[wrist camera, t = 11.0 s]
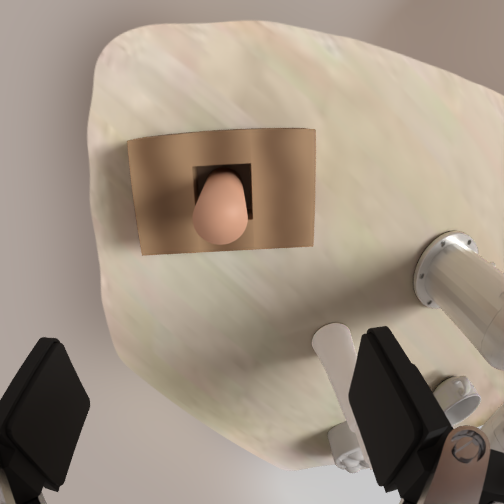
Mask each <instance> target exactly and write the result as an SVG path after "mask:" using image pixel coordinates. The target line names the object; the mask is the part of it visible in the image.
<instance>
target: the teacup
mask: <svg viewBox="0 0 504 504" xmlns="http://www.w3.org/2000/svg"><path fill="white" fill-rule="evenodd" d="M433 394H434V396H435V398H436V399H437V401H438V403H439V405H440V406H441V408H442V410H443V411H444V413H445V415H446V417H447V418H448V420H449V422H450V424H451V425H452V426H454V425H456V424H458V423H460V422H461V421H463V420H464V419H466V418H467V417H468V416H470V415H471V414H472V413H473V412H474V411H475V410H476V408H477V407H478V406H479V404H480V402H481V396H480V395H479V394H478V392H477V391H476V389H475V388H474V386H473V385H472V383H471V382H470V381H469V380H468V378H467V377H466V376H460V377H452V378H449V379H447V380H445V381H443V382H442V383H441V384H440V385H439V386H438V387H437V388H436V389H435V391H434V392H433Z"/></svg>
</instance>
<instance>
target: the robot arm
mask: <svg viewBox="0 0 504 504" xmlns="http://www.w3.org/2000/svg"><path fill="white" fill-rule="evenodd" d="M413 283H414V291H415V294H416V296H417V297H418V299H419V300H420V301H421V302H422V304H424V305H425V306H426V307H429V308H434V309H438V308H441V309H442V310H443V311H444V312H445V313H446V315H447V316H448V317H449V318H450V319H451V320H452V321H453V322H454V323H455V325H456V326H457V327H458V328H459V329H460V330H461V331H462V332H463V334H464V335H465V336H466V337H467V338H468V339H469V341H470V342H471V343H472V344H473V345H474V346H475V348H476V349H477V350H478V351H479V352H480V354H481V355H482V356H483V357H484V358H485V359H486V361H487V362H488V363H489V364H490V365H491V366H493V367H494V368H496V369H498V370H502V371H504V273H503V272H502V271H500V270H499V269H498V268H496V267H495V263H494V262H488V261H487V260H485V259H484V258H483V257H481V256H480V255H479V252H478V248H477V245H476V243H475V241H474V240H473V239H472V238H471V237H470V236H469V235H467V234H465V233H464V232H460V231H451V232H447V233H445V234H443V235H441V236H439V237H438V238H436V239H435V240H434V241H433V242H432V243H431V244H430V245H429V246H428V247H427V248H426V250H425V251H424V252H423V254H422V256H421V258H420V259H419V261H418V264H417V266H416V269H415V274H414V282H413ZM348 398H349V403H350V406H351V409H352V412H353V414H354V417H355V420H356V423H357V425H358V428H359V431H360V434H361V437H362V440H363V442H364V445H365V448H366V451H367V454H368V457H369V460H370V463H371V466H372V469H373V472H374V475H375V477H376V481H377V483H378V485H379V486H384V488H385V491H386V493H387V492H390V491H393V490H396V489H398V492H399V494H400V497H401V501H400V503H399V504H504V402H503V403H502V404H501V406H500V407H499V408H498V409H497V410H496V411H495V412H494V414H493V415H492V416H491V417H490V418H489V419H488V420H487V422H486V423H485V424H484V425H483V426H482V428H481V429H479V428H476V427H474V426H468V425H465V426H459V427H457V428H455V429H453V427H452V425H451V424H450V422H449V420H448V418H447V417H446V415H445V413H444V411H443V410H442V408H441V406H440V405H439V403H438V401H437V399H436V398H435V396H434V394H433V393H432V391H431V389H430V388H429V386H428V384H427V383H426V381H425V380H424V378H423V376H422V375H421V373H420V372H419V370H418V368H417V367H416V366H415V365H414V364H412V363H411V362H410V360H409V359H408V357H407V355H406V354H405V352H404V351H403V349H402V348H401V346H400V344H399V343H398V341H397V340H396V338H395V337H394V335H393V334H392V332H391V331H390V329H389V328H388V327H387V326H383V327H376V328H370V329H368V331H367V334H363V335H362V338H361V342H360V347H359V352H358V356H357V360H356V365H355V369H354V373H353V377H352V381H351V385H350V389H349V393H348ZM89 408H90V400H89V397H88V395H87V393H86V392H85V389H84V388H83V386H82V384H81V382H80V380H79V377H78V376H77V373H76V371H75V369H74V367H73V365H72V363H71V361H70V359H69V356H68V354H67V352H66V350H65V347H64V345H63V344H62V343H60V341H59V340H58V339H56V338H46V337H43V338H40V339H39V341H38V342H37V343H36V345H35V346H34V348H33V349H32V351H31V352H30V354H29V355H28V357H27V358H26V360H25V361H24V363H23V365H22V366H21V368H20V369H19V371H18V372H17V374H16V375H15V377H14V378H13V380H12V382H11V383H10V385H9V387H8V388H7V390H6V392H5V393H4V395H3V397H2V398H1V400H0V504H47V503H46V501H45V499H44V497H43V494H42V492H41V491H42V488H43V487H45V488H47V489H50V490H53V491H56V492H58V491H59V487H60V486H61V485H63V483H64V481H65V478H66V475H67V472H68V469H69V466H70V462H71V459H72V456H73V453H74V450H75V447H76V444H77V442H78V439H79V436H80V433H81V430H82V427H83V424H84V422H85V419H86V416H87V414H88V411H89Z"/></svg>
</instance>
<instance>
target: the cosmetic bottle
mask: <svg viewBox="0 0 504 504" xmlns="http://www.w3.org/2000/svg"><path fill="white" fill-rule="evenodd" d="M312 347H313V349H314V351H315V352H316V354H317V355H318V357H319V359H320V361H321V363H322V365H323V366H324V369H325V371H326V373H327V375H328V377H329V380H330V382H331V384H332V387H333V389H334V392H335V394H336V397H337V399H338V402H339V404H340V407H341V409H342V411H343V414H344V416H345V419H346V421H347V423H348V426H349V428H350V430H351V431H352V432H355V434H356V437H357V440H358V443H359V446H360V448H361V451H362V454H363V457H364V460H365V462H366V463H368V464H370V465H369V467H370V469H371V470H373V469H372V466H371V463H370V460H369V457H368V454H367V451H366V448H365V445H364V442H363V440H362V437H361V434H360V431H359V428H358V425H357V423H356V420H355V417H354V414H353V412H352V409H351V406H350V403H349V398H348V393H349V389H350V385H351V381H352V377H353V373H354V369H355V365H356V360H357V354H356V351H355V348H354V344H353V340H352V336H351V332H350V329H349V328H348V327H347V326H346V325H344V324H341V323H331V324H328V325H325V326H323V327H322V328H320V329H319V330H318V331H317V332H316V333H315V334H314V336H313V338H312Z"/></svg>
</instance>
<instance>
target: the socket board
mask: <svg viewBox="0 0 504 504" xmlns="http://www.w3.org/2000/svg"><path fill="white" fill-rule="evenodd" d="M127 145H128V156H129V166H130V176H131V184H132V192H133V200H134V207H135V214H136V221H137V228H138V234H139V240H140V246H141V252H142V255H159V254H178V253H196V252H215V251H234V250H253V249H272V248H291V247H310V246H313V242H314V216H315V170H316V130H315V129H307V128H258V129H232V130H214V131H200V132H188V133H178V134H168V135H159V136H151V137H143V138H138V139H133V140H128V141H127ZM223 167H225V168H230V169H233V170H234V171H236V172H237V173H238V174H239V176H240V177H241V180H242V184H243V190H244V196H245V202H246V209H247V215H248V222H247V226H246V229H245V231H244V232H243V234H242V235H241V236H240V237H239V238H238V239H237V240H235V241H233V242H231V243H229V244H223V245H217V244H212V243H209V242H207V241H205V240H204V239H202V238H201V237H200V236H199V235H198V233H197V232H196V230H195V228H194V225H193V219H192V217H193V211H194V208H195V206H196V203H197V201H198V199H199V196H200V194H201V191H202V189H203V187H204V184H205V182H206V180H207V177H208V176H209V174H210V173H211V172H212V171H214V170H216V169H218V168H223Z"/></svg>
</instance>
